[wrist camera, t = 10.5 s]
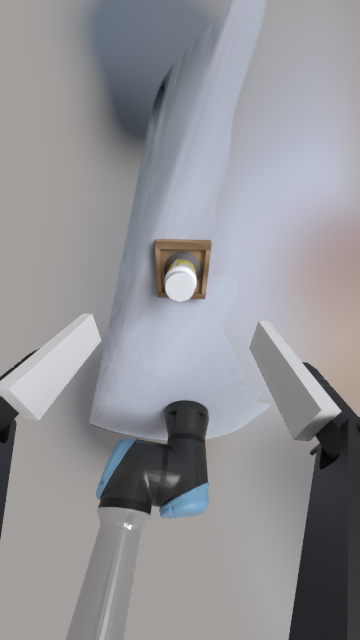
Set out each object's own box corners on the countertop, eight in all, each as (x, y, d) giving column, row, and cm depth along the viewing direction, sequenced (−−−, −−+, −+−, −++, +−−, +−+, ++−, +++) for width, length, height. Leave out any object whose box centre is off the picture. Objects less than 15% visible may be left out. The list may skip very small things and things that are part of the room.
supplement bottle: (175, 288, 29) (170, 309, 22) (164, 264, 27) (155, 278, 20) (199, 279, 28) (202, 297, 21) (190, 253, 26) (189, 264, 18)
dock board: (204, 296, 31) (204, 300, 29) (159, 294, 31) (158, 298, 29) (210, 240, 25) (211, 241, 24) (156, 238, 26) (154, 239, 24)
